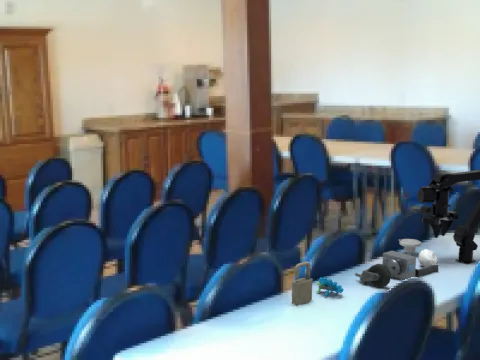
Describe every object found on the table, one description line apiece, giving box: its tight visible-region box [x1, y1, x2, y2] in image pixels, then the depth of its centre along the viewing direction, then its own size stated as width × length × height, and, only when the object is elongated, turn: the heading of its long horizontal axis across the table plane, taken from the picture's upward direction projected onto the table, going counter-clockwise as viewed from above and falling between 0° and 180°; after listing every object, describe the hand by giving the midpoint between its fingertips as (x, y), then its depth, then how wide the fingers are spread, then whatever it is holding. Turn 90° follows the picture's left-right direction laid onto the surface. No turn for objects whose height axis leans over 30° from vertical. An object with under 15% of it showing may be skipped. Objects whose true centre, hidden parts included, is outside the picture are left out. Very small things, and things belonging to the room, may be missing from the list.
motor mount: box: [382, 250, 439, 281], centre depth 285 cm, size 23×15×9 cm, turn 130°
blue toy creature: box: [316, 276, 344, 298], centre depth 259 cm, size 11×6×10 cm
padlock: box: [291, 261, 313, 306], centre depth 251 cm, size 4×8×15 cm, turn 131°
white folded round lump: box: [417, 248, 438, 267], centre depth 294 cm, size 8×8×8 cm
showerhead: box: [398, 238, 422, 256], centre depth 312 cm, size 9×7×10 cm
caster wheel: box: [354, 263, 392, 289], centre depth 270 cm, size 6×10×15 cm
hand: (439, 236), depth 298 cm, fingers open, 5 cm apart
